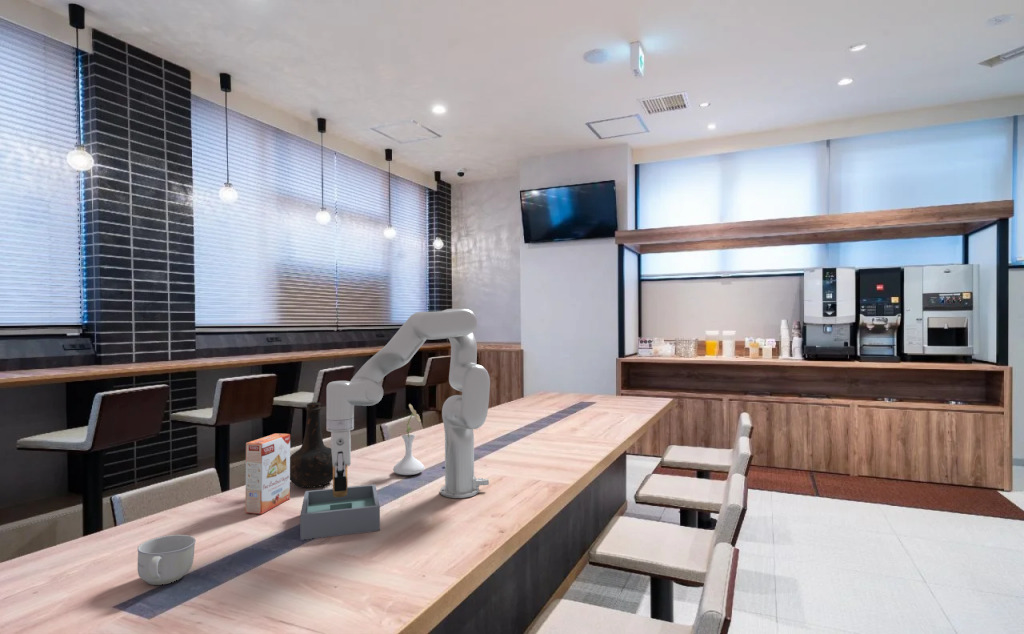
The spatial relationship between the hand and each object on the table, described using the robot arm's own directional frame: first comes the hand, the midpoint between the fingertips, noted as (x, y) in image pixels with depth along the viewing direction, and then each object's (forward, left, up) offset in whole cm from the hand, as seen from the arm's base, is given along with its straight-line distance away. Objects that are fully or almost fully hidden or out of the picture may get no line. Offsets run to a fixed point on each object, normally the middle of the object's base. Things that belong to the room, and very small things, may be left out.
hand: (340, 487), depth 155 cm
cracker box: (+21, -17, -9) cm, 28 cm away
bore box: (0, +3, -9) cm, 9 cm away
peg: (0, 0, -2) cm, 2 cm away
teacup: (+37, +27, -9) cm, 47 cm away
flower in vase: (-24, -39, -9) cm, 47 cm away
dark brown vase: (+9, -36, -9) cm, 38 cm away
